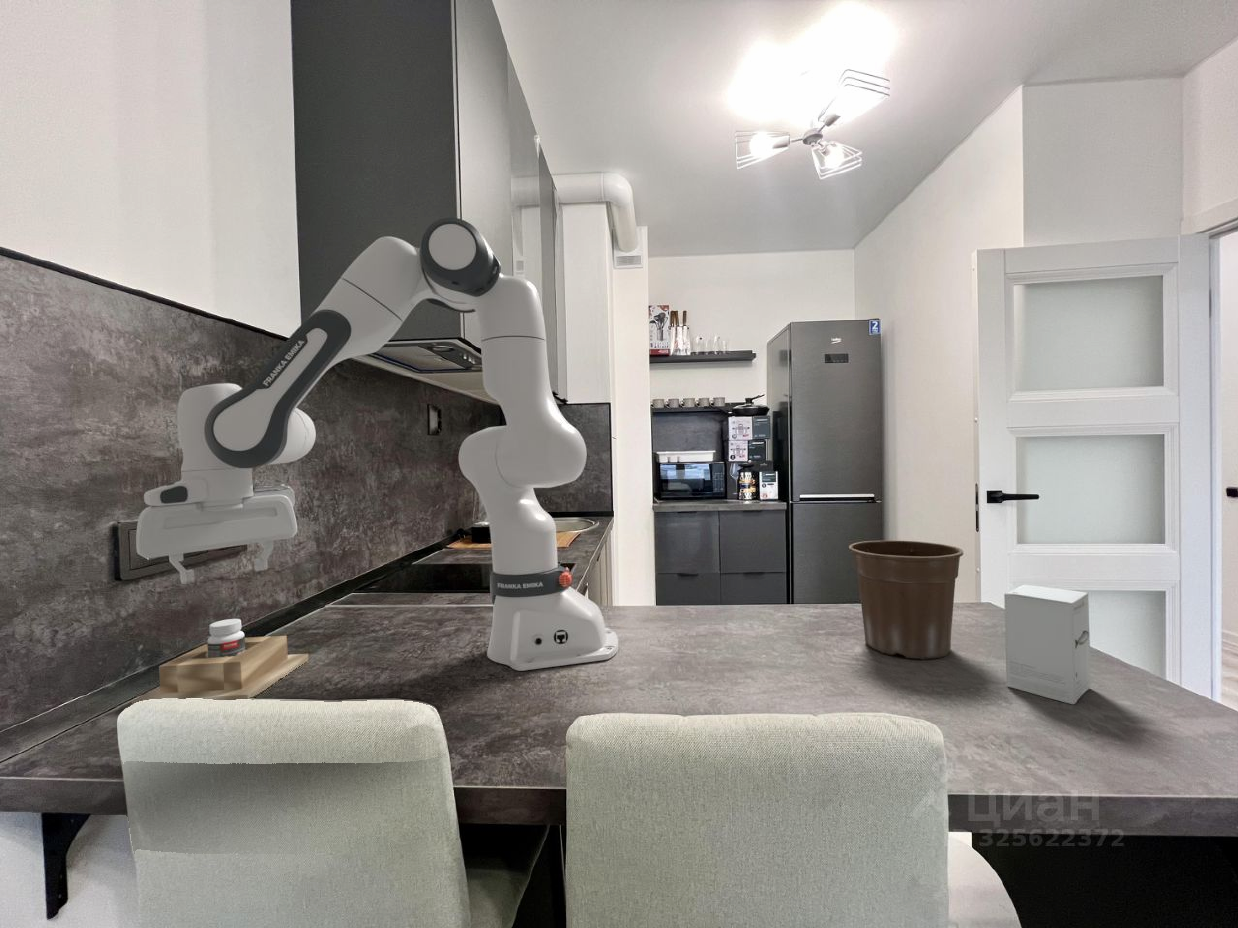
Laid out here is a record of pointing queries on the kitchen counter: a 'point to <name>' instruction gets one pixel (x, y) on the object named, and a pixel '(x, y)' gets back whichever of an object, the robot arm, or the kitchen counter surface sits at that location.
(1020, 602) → the supplement box
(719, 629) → the kitchen counter surface
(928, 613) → the plant pot
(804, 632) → the kitchen counter surface
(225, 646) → the pill bottle
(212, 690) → the birch socket block
